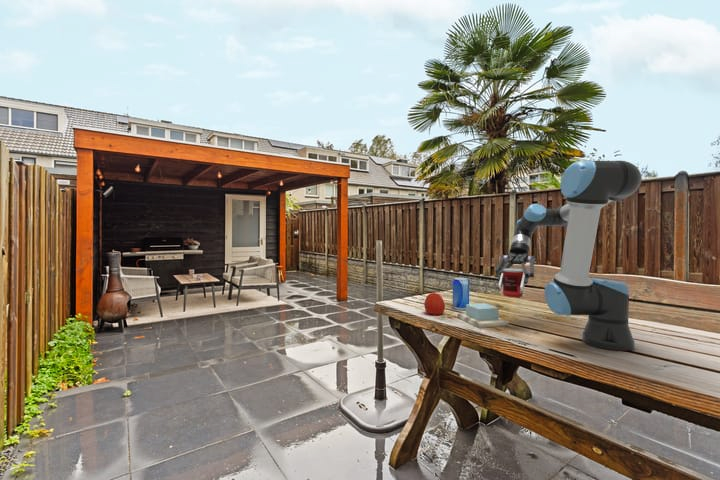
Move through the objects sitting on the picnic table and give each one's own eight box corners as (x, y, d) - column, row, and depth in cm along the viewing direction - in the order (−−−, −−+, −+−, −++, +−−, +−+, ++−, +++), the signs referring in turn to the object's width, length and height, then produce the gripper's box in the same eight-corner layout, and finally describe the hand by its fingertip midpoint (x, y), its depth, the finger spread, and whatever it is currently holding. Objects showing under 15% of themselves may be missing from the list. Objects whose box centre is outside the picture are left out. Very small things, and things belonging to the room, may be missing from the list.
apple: (421, 311, 172) (421, 291, 172) (441, 311, 173) (441, 290, 172) (426, 316, 162) (426, 294, 162) (447, 316, 162) (447, 294, 162)
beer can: (449, 307, 180) (449, 277, 180) (462, 306, 183) (463, 277, 182) (458, 311, 172) (458, 280, 172) (472, 309, 175) (472, 279, 174)
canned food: (518, 293, 145) (519, 268, 144) (525, 297, 137) (526, 270, 136) (500, 293, 146) (500, 268, 145) (506, 297, 138) (506, 270, 137)
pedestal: (498, 319, 148) (498, 307, 148) (478, 320, 146) (478, 309, 146) (485, 313, 158) (485, 303, 158) (465, 315, 156) (465, 304, 156)
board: (508, 325, 145) (508, 321, 145) (479, 328, 142) (479, 323, 142) (483, 315, 162) (483, 311, 162) (457, 317, 159) (457, 313, 159)
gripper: (546, 253, 147) (539, 296, 134) (497, 251, 159) (487, 290, 147) (544, 241, 142) (537, 285, 130) (494, 240, 155) (483, 280, 142)
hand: (510, 288), depth 138 cm, fingers closed on canned food, 8 cm apart
